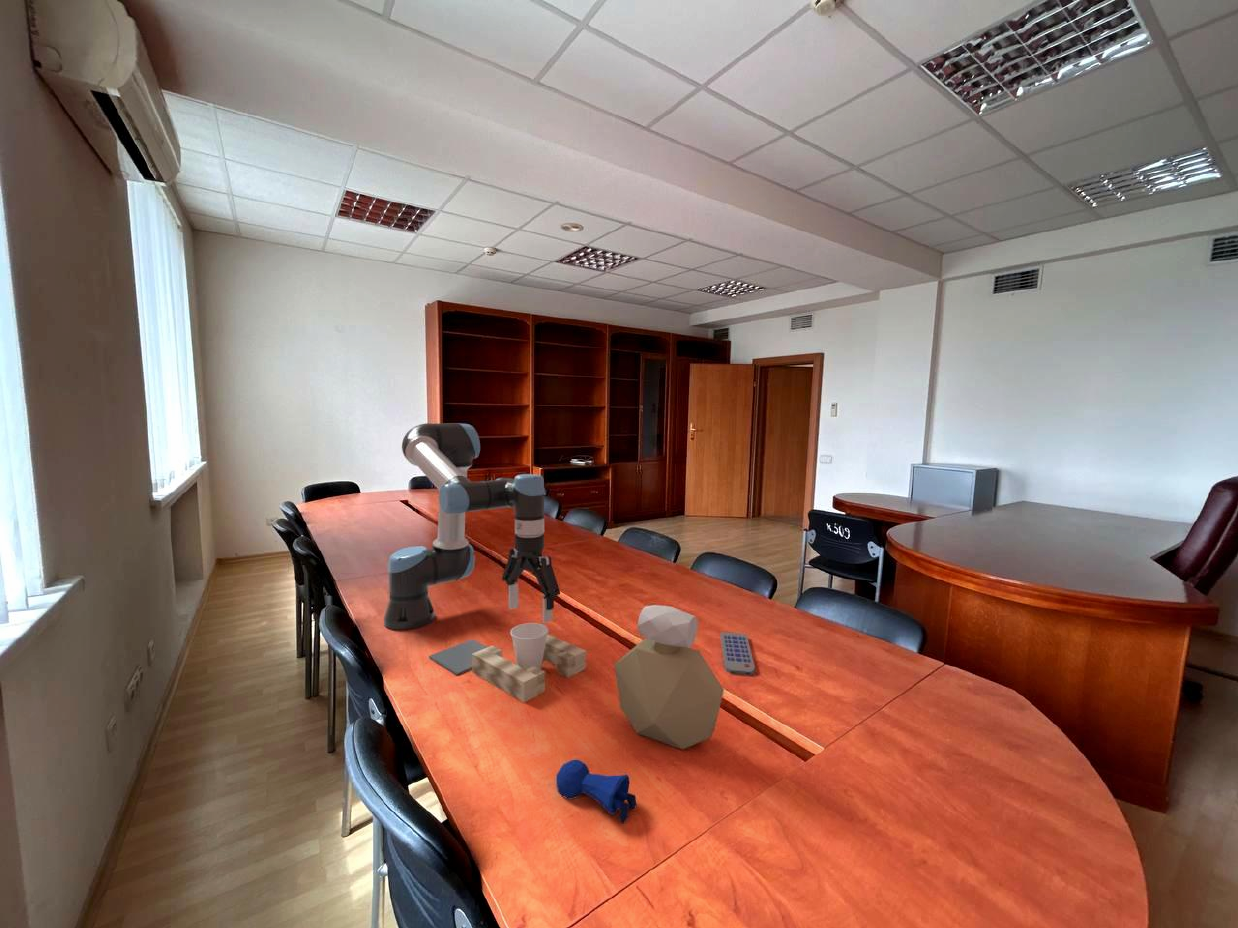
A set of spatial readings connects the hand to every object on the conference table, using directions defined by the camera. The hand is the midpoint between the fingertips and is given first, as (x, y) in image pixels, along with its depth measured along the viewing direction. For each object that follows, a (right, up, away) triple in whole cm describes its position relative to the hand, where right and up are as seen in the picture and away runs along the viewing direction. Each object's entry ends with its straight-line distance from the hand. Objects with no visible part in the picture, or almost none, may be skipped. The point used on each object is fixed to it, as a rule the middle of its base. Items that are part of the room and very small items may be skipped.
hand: (530, 614), depth 128 cm
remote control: (+57, -16, +13) cm, 60 cm away
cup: (0, -16, +2) cm, 16 cm away
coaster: (-20, -14, +8) cm, 26 cm away
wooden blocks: (0, -15, +2) cm, 15 cm away
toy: (+19, -20, -41) cm, 50 cm away
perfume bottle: (+33, -18, -23) cm, 45 cm away
